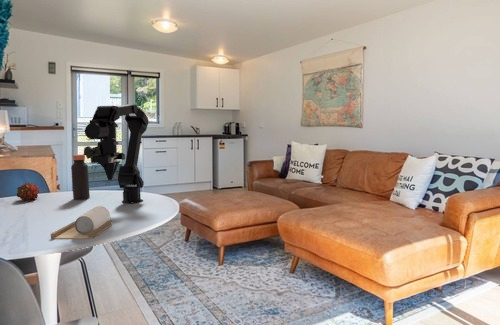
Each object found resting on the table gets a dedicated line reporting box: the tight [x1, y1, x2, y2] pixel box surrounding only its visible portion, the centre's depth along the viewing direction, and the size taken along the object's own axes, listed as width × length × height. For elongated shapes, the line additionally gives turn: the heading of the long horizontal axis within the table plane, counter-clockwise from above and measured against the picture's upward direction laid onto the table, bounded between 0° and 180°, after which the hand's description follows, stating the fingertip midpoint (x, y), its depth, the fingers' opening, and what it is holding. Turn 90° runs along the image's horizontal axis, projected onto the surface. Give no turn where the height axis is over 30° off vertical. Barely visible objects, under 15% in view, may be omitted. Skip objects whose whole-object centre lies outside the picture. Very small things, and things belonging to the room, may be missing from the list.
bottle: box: [70, 153, 91, 201], centre depth 162 cm, size 7×7×20 cm
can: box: [75, 205, 111, 235], centre depth 112 cm, size 6×6×12 cm
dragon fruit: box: [16, 182, 40, 202], centre depth 162 cm, size 8×8×12 cm
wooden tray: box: [50, 220, 113, 240], centre depth 111 cm, size 14×12×2 cm
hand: (109, 180), depth 136 cm, fingers closed
